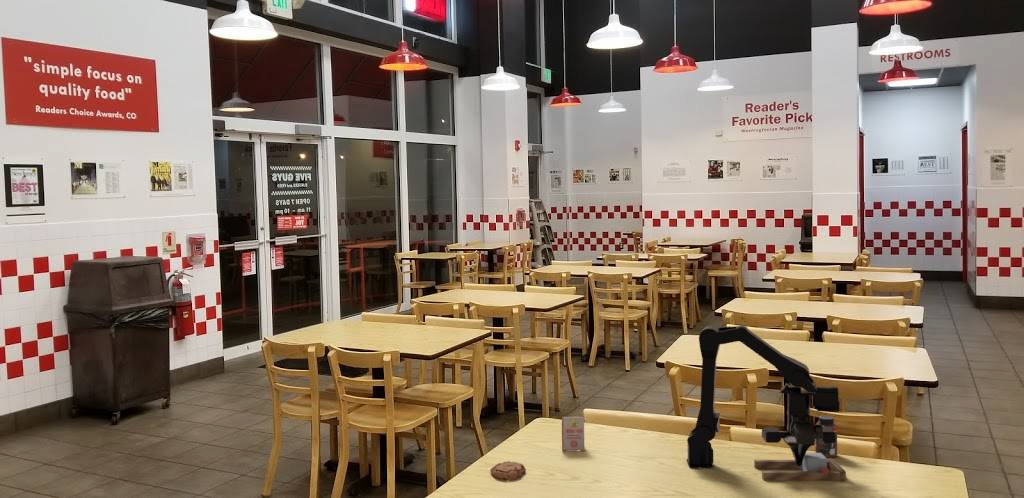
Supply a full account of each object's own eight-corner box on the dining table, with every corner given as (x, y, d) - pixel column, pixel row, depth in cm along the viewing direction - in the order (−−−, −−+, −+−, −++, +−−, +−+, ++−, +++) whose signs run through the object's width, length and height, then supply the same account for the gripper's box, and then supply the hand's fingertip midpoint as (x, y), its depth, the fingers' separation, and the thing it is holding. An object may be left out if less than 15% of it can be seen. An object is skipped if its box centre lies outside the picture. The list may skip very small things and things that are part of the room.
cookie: (494, 483, 216) (494, 472, 216) (488, 470, 227) (487, 460, 227) (530, 480, 218) (529, 469, 218) (522, 467, 229) (522, 457, 229)
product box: (562, 447, 246) (562, 415, 246) (584, 447, 246) (583, 415, 245) (562, 450, 242) (561, 418, 242) (584, 451, 242) (583, 418, 241)
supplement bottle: (839, 459, 230) (839, 420, 229) (817, 458, 231) (817, 419, 230) (835, 452, 235) (835, 414, 235) (813, 451, 237) (813, 414, 236)
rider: (807, 476, 215) (807, 458, 215) (802, 470, 220) (802, 452, 220) (826, 476, 215) (826, 458, 215) (821, 470, 220) (821, 452, 220)
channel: (763, 480, 214) (763, 468, 213) (754, 466, 224) (754, 455, 224) (845, 480, 212) (845, 468, 212) (832, 467, 223) (832, 455, 223)
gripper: (770, 417, 210) (771, 475, 211) (843, 417, 208) (843, 476, 209) (761, 406, 221) (761, 462, 222) (830, 406, 219) (830, 462, 220)
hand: (798, 465), depth 218 cm, fingers closed
